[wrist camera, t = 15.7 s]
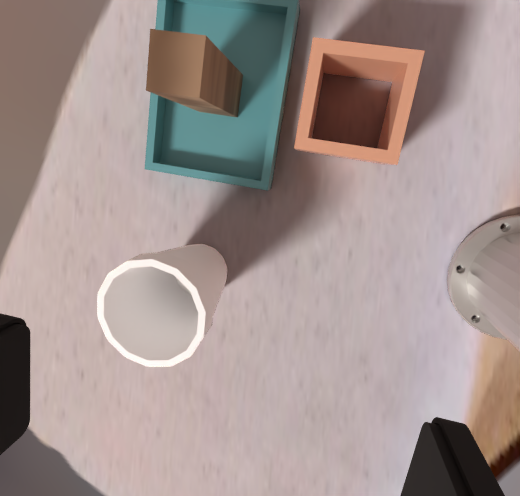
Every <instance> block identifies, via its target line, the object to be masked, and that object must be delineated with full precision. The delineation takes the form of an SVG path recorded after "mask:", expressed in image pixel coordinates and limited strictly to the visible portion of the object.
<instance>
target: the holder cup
mask: <svg viewBox="0 0 520 496" xmlns="http://www.w3.org/2000/svg"><path fill="white" fill-rule="evenodd" d="M424 52H425V51H423V50H415V49H407V48H398V47H390V46H381V45H373V44H364V43H356V42H348V41H339V40H331V39H322V38H314V37H313V41H312V46H311V52H310V58H309V64H308V70H307V75H306V81H305V87H304V93H303V99H302V105H301V110H300V116H299V122H298V128H297V134H296V139H295V145H294V149H296V150H299V151H304V152H310V153H316V154H323V155H329V156H335V157H342V158H348V159H354V160H360V161H367V162H373V163H379V164H391V165H397V164H398V160H399V156H400V152H401V148H402V143H403V139H404V135H405V131H406V127H407V123H408V119H409V114H410V110H411V106H412V102H413V98H414V94H415V90H416V85H417V81H418V77H419V73H420V69H421V65H422V60H423V56H424ZM324 73H326V74H334V75H342V76H349V77H357V78H365V79H372V80H380V81H388V82H392V85H391V90H390V94H389V98H388V103H387V107H386V112H385V116H384V121H383V125H382V129H381V134H380V138H379V143H378V147H377V148H370V147H364V146H357V145H350V144H344V143H337V142H331V141H324V140H318V139H312V134H313V129H314V123H315V118H316V112H317V107H318V101H319V96H320V90H321V85H322V79H323V74H324Z"/></svg>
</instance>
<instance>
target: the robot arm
mask: <svg viewBox="0 0 520 496" xmlns="http://www.w3.org/2000/svg"><path fill="white" fill-rule="evenodd" d="M502 224H503V225H504V226H503V228H500V226H501V225H502ZM459 265H460V268H459V269H456V267H457V266H459ZM447 286H448V292H449V296H450V299H451V302H452V303H453V305H454V307H455V309H456V311H457V312H458V313H459V314H460V315H461V317H462V318H463V319H464V320H465V321H466V322H467V323H468V324H469V325H471V326H472V327H474V328H475V329H477V330H478V331H480V332H482V333H484V334H487V335H489V336H492V337H496V338H501V339H506V340H508V341H509V342H510V343H511V344H512V345H514V346H515V347H516V348H517V349H518V350H519V351H520V215H511V216H506V217H501V218H498V219H496V220H493V221H490V222H488V223H486V224H484V225H483V226H481V227H479V228H477V229H476V230H475V231H474V232H472V233H471V234H470V235H469V236H467V237H466V238H465V240H464V241H463V242H462V243H461V244H460V245H459V247H458V248H457V250H456V252H455V253H454V255H453V257H452V259H451V262H450V265H449V268H448V276H447ZM474 315H475V316H474ZM472 316H474V317H473V318H471V317H472ZM29 422H30V329H29V328H28V327H27V326H26V323H25V321H24V320H23V319H21V318H17V317H13V316H9V315H4V314H0V455H1V454H2V453H3V452H4V451H5V450H6V449H7V448H9V447H10V446H11V445H12V444H13V443H14V442H15V441H16V440H17V439H19V438H20V437H21V436H22V435H23V434H24V432H25V431H26V429H27V427H28V425H29ZM401 496H505V495H504V493H503V492H502V490H501V488H500V486H499V484H498V482H497V480H496V479H495V477H494V475H493V473H492V471H491V469H490V467H489V466H488V464H487V462H486V460H485V458H484V456H483V454H482V453H481V451H480V449H479V447H478V445H477V443H476V441H475V440H474V438H473V436H472V434H471V432H470V430H469V428H468V427H467V426H466V425H465V424H463V423H459V422H455V421H450V420H446V419H442V418H438V417H436V418H434V419H433V421H432V423H428V422H425V423H424V424H423V426H422V428H421V432H420V435H419V438H418V441H417V444H416V448H415V451H414V454H413V457H412V461H411V464H410V467H409V470H408V473H407V477H406V480H405V483H404V486H403V490H402V493H401Z"/></svg>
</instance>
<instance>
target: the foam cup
mask: <svg viewBox="0 0 520 496" xmlns="http://www.w3.org/2000/svg"><path fill="white" fill-rule="evenodd" d="M227 270H228V268H227V266H226V263H225V260H224V257H223V256H222V255H221V254H220V253H219V252H218V251H217V250H216V249H215V248H213V247H210V246H208V245H205V244H192V245H186V246H182V247H178V248H174V249H170V250H165V251H161V252H157V253H145V254H140V255H138V256H136V257H134V258H132V259H130V260H128V261H126V262H125V263H123V264H122V265H120V266H119V267H117V268H116V269H114V270H112V271H111V272H109V273H108V274H107V276H106V278H105V280H104V282H103V284H102V286H101V288H100V290H99V292H98V296H97V317H98V320H99V322H100V324H101V327H102V329H103V331H104V334H105V336H106V338H107V340H108V341H109V342H110V343H111V344H112V345H113V346H114V347H115V348H116V349H117V350H118V351H119V352H120V353H121V354H122V355H123V356H124V357H125V358H128V359H130V360H132V361H135V362H137V363H140V364H142V365H144V366H147V367H171V366H173V365H175V364H177V363H179V362H181V361H183V360H185V359H187V358H189V357H190V356H192V354H193V353H194V351H195V350H196V348H197V347H198V345H199V344H200V343H201V341H202V340H203V338H204V336H205V335H206V333H207V332H208V330H209V329H210V327H211V326H212V321H213V315H214V312H215V310H216V307H217V304H218V302H219V299H220V297H221V294H222V291H223V289H224V286H225V284H226V281H227Z"/></svg>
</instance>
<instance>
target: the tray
mask: <svg viewBox="0 0 520 496" xmlns="http://www.w3.org/2000/svg"><path fill="white" fill-rule="evenodd" d="M299 13H300V5H299V0H158V4H157V17H156V30H164V31H173V32H181V33H190V34H198V35H206V36H207V37H208V38H209V39H210V40H211V41H212V42H213V43H214V45H215V46H216V47H217V48H218V49H219V50H220V51H221V52H222V53H223V54H224V55H225V56H226V57H227V58H228V59H229V60H230V62H231V63H232V64H233V65H234V66H235V67H236V68H237V69H238V70H239V71H240V72H241V73H242V74H243V81H242V88H241V96H240V104H239V111H238V117H231V116H224V115H217V114H211V113H204V112H199V111H196V110H194V109H191V108H189V107H186V106H184V105H181V104H179V103H176V102H174V101H171V100H169V99H166V98H164V97H161V96H159V95H156V94H154V93H151V95H150V108H149V121H148V134H147V147H146V160H145V169H147V170H153V171H158V172H164V173H170V174H176V175H181V176H187V177H193V178H199V179H205V180H210V181H216V182H222V183H228V184H233V185H239V186H245V187H251V188H256V189H262V190H270V189H271V186H272V180H273V174H274V168H275V162H276V155H277V149H278V143H279V137H280V131H281V124H282V118H283V112H284V106H285V100H286V93H287V87H288V81H289V75H290V69H291V62H292V56H293V50H294V44H295V38H296V32H297V25H298V19H299Z"/></svg>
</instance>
